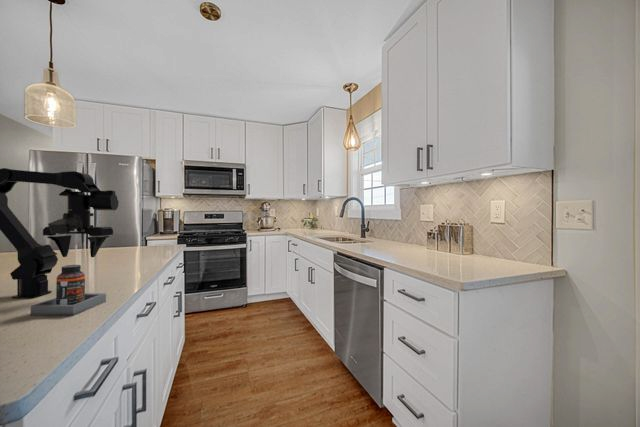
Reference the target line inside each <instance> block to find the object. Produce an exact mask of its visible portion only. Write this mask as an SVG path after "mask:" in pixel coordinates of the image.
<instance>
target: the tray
mask: <svg viewBox="0 0 640 427" xmlns="http://www.w3.org/2000/svg"><path fill="white" fill-rule="evenodd" d="M106 302H107V293H104V292H103V293H99V292H97V293H95V292H94V293H90V292H89V293H88V292H87V293H86V292H85V300H84V301H82V302H79V303H77V304H74V305H56V297H53V298H51V299H47V300H43V301H42V302H38V303H34V304H32V305H30V316H35V317H36V316H37V317H38V316H39V317H40V316H41V317H42V316H43V317H44V316H45V317H47V316H48V317H49V316H54V317H56V316H57V317H58V316H59V317H60V316H61V317H62V316H63V317H64V316H66V317H71V316H72V317H74V316H76V315H78V314H79V315H80V313H83V312H85V311H87V310H90V309H93V308H95V307H96V306H99V305H101V304H103V303H106Z"/></svg>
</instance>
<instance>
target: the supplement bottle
mask: <svg viewBox="0 0 640 427" xmlns="http://www.w3.org/2000/svg"><path fill="white" fill-rule="evenodd" d="M81 269H82V267H81V264H68V265H64V266H61V272H60V273H59V274H58V275H57V276H56V281H55V282H56V284H55V285H56V286H55V287H56V290H55V292H56V293H55V296H56V297H55V298H56V305H74V304H77V303H79V302H82V301H84V300H85V293H86V292H85V289H86V275H85V272H83V271H81Z"/></svg>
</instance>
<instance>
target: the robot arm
mask: <svg viewBox="0 0 640 427" xmlns="http://www.w3.org/2000/svg"><path fill="white" fill-rule="evenodd" d="M17 183H28V184H29V183H31V184H42V185H43V184H44V185H53V186H58V187H63V188H65V189H64V190H63V191H61V192H60V193H58V195H59V196H60V197H67V205H66V206H67V213H66V212H64V213H63V214H62V218H59V219H57V220H54V221H52V222H49V223H48V224H47V225H48V226H45V227H44V228H43V229H42V236H43V237H44V236H46V238H47V239H50V240H52V241H54V242H55V245H56V246H57V248H58V250H59V252H60V254H61V256H62V257H63V258H67V257H68V255H69V252H70V251H69V249H70V244H71V239H72V235H71V234H73V235H74V234H75V235H76V234H78V235H81V234H84V235H88V236H87V237H86V238H87V239H88V240H89V242H90V243H89V246H90V247H89V248H90V258H95V257H96V255H97V253H98V251H99V250H100V248H101V246H102V245H103V243H105V241H106V239H107V238H110V236H113V235H114V228H112V226H94V225H93V224H91V217H94V215H95V214H94V213H93V212H91V208H92V210H94V211H116V210H117V209H118V207H119V200H118V196H117V195H116V190H110V189H109V190H100V189H99V187H98V186H97V185H96V184H95V181H94V178H93V177H92V176H91V175H90V174H88V173H85V172H84V173H83V172H80V171H73V170H72V171H71V170H70V171H59V172H45V171H33V170H20V169H19V170H18V169H11V168H6V167H4V168H0V232H1V233H2V234H3V235H4V237H5V238H6V239H7V241H9V243H10V244H11V245H12V246H13V247H14V249H15V250H16V252H17V262H18V264H19V265H18V267H16V268H15V269H13V270H12V271H11V272H10V277H11V278H12V280H16V281H17V283H16V285H17V290H16V291H17V294H16V295H12V296H11V298H12V299H33V298H36V297H37V298H38V297H40V296H43V295H47V294H51V293H52V292H53V291H52V290H49V279H48V275H47V274H51V273H52V271H53V268H54V267H55V266H56V265H57V263H58V261H59V259H58V256H57V255H58V253H57V252H55V250H53V248H52V246H51V245H50V244H43V245H42V244H40V243H38V242H37V241H36V239H35V238H34V237H33V236H32V235H31V233H30V232H29V231H28V230H27V228H26V227H25V225H24V224H22V222H21V221H20V220H19V218H18V217H17V216H16V215H15V213H14V212H13V211H12V210H11V208H10V207H9V206H8V202H9V201H8V199H9V198H8V196H7V195H6V194H7V193H9V192H11V191H12V190H13V188H14V187H15V185H16V184H17ZM73 190H75V191H73ZM76 190H77V191H76ZM85 193H87V194H85Z"/></svg>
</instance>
